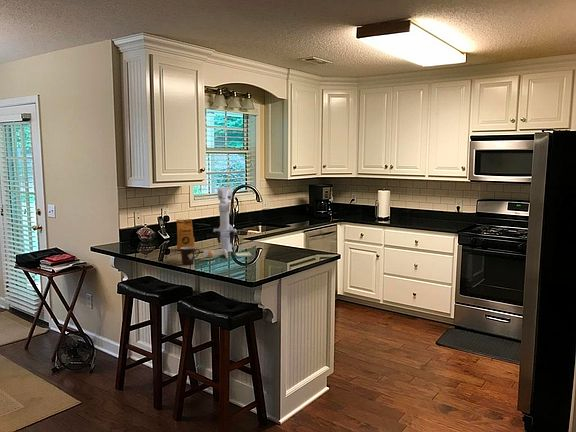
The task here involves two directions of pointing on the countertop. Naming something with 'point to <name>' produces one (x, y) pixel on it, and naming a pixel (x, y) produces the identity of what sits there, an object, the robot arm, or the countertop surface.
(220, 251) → the acrylic walls
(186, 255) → the coffee mug
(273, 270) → the countertop surface
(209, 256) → the ball
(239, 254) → the tray
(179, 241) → the coffee package
